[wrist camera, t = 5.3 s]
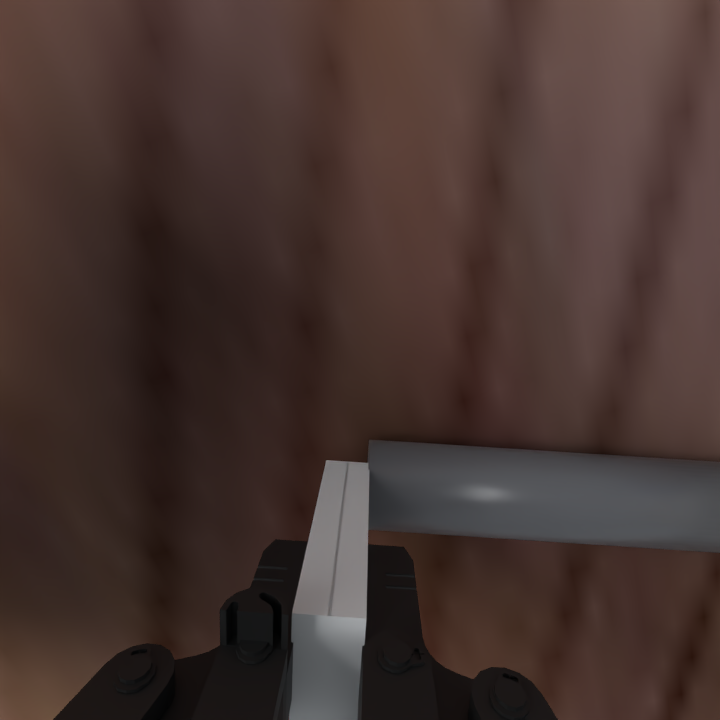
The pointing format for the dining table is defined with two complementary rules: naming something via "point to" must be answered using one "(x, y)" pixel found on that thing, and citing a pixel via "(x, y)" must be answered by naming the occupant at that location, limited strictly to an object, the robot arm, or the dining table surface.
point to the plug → (544, 495)
